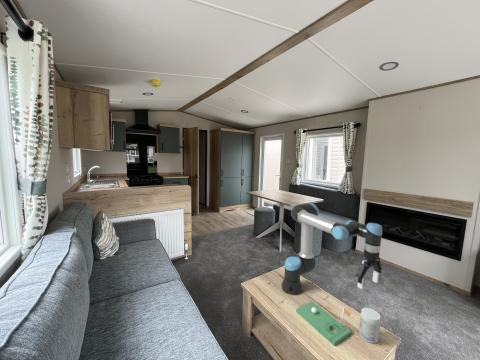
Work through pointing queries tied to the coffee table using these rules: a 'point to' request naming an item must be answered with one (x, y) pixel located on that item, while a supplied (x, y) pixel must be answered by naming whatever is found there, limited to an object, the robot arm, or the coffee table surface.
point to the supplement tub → (369, 325)
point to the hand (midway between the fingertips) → (367, 284)
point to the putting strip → (324, 322)
